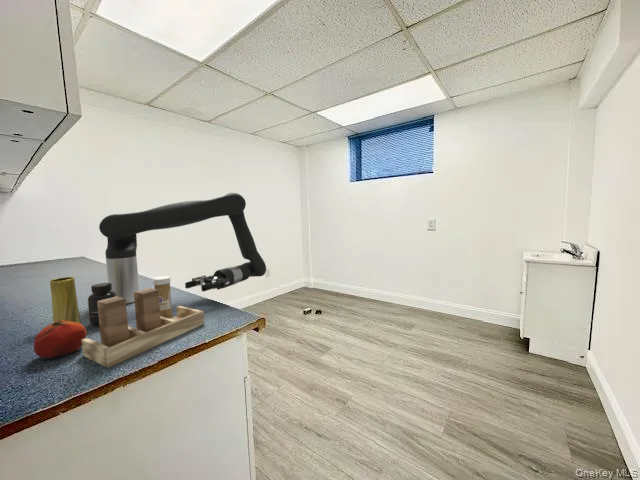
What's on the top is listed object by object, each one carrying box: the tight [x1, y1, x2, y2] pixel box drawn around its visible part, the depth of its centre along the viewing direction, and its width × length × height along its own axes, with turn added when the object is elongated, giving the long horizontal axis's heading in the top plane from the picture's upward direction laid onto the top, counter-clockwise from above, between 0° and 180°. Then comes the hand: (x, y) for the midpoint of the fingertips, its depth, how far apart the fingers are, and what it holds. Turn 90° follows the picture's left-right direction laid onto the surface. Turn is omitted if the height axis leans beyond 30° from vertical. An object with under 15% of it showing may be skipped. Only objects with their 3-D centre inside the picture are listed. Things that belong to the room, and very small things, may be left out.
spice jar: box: [153, 275, 173, 319], centre depth 83 cm, size 5×5×14 cm
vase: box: [49, 276, 82, 324], centre depth 79 cm, size 6×6×14 cm
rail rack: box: [81, 287, 205, 368], centre depth 70 cm, size 11×25×13 cm, turn 154°
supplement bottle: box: [87, 282, 117, 327], centre depth 80 cm, size 7×7×12 cm
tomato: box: [33, 320, 88, 359], centre depth 63 cm, size 9×9×8 cm
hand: (193, 287), depth 93 cm, fingers open, 8 cm apart
